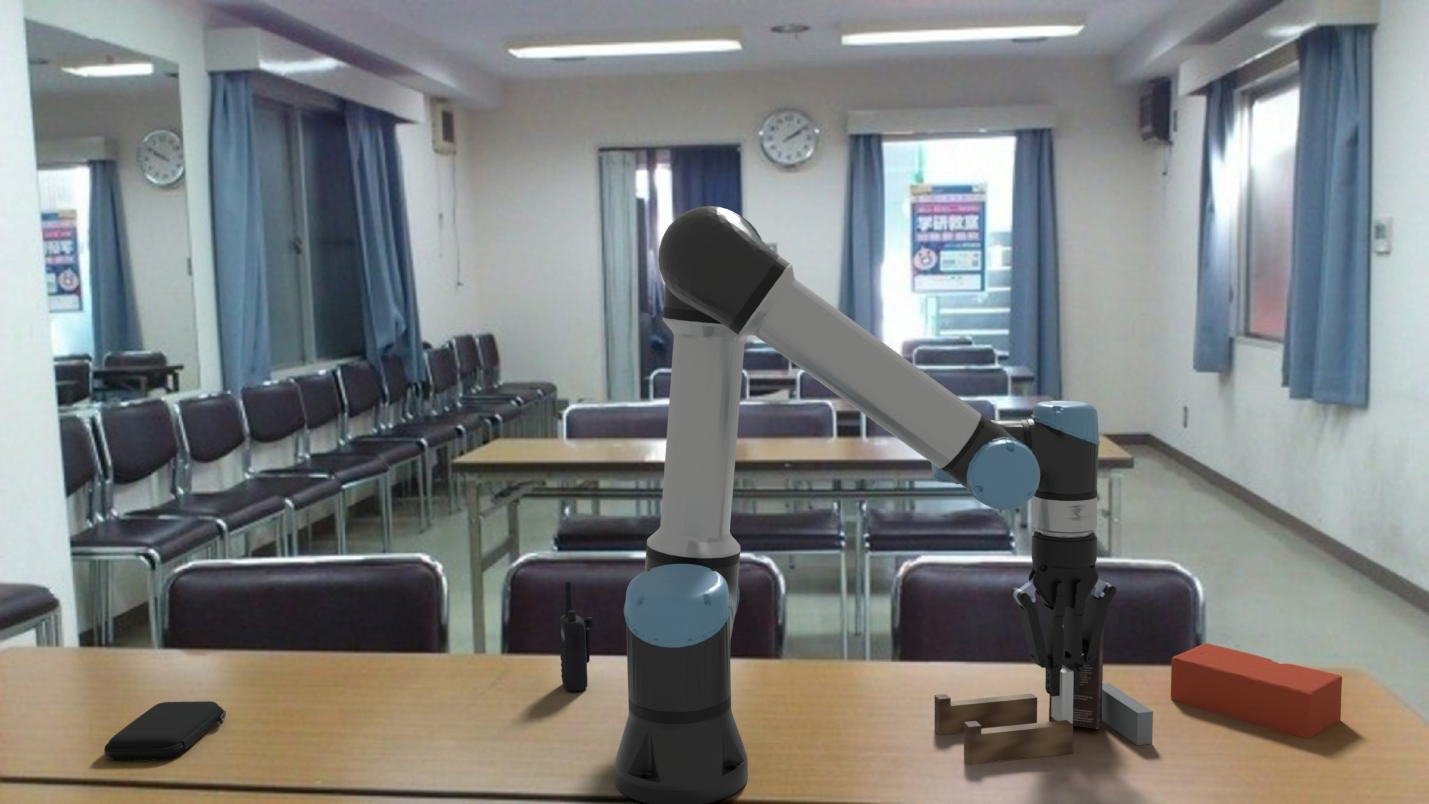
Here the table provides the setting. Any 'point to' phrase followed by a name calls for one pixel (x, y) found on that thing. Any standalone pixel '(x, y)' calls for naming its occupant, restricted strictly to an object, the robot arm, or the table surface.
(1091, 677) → the box
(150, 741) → the carrying case or bag
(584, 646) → the two-way radio
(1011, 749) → the brown piece
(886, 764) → the table surface
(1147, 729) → the end stop
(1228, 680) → the brick
